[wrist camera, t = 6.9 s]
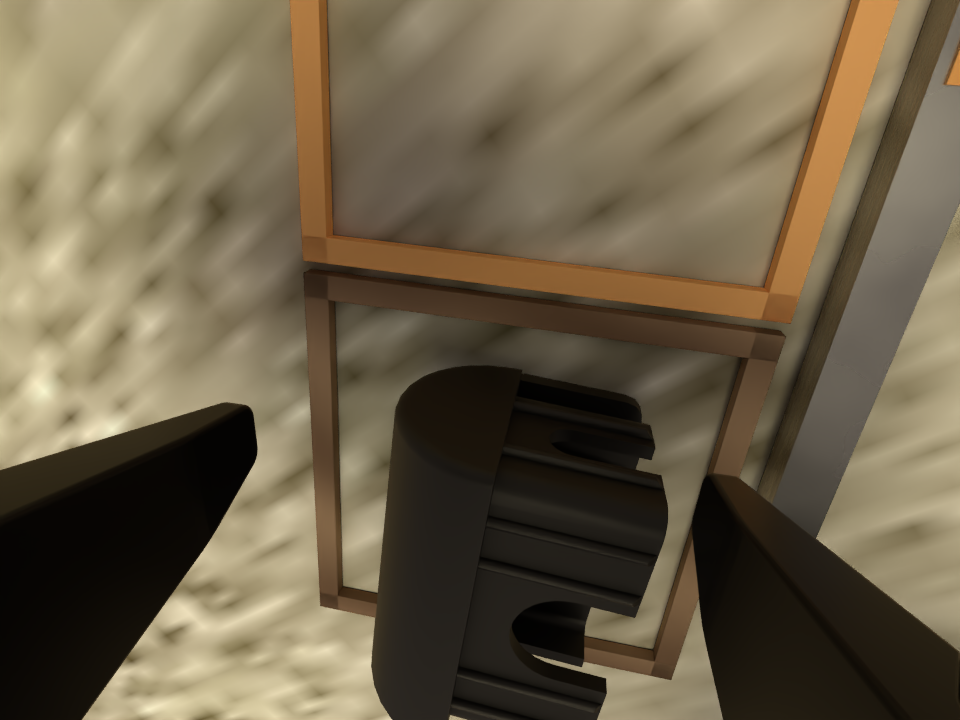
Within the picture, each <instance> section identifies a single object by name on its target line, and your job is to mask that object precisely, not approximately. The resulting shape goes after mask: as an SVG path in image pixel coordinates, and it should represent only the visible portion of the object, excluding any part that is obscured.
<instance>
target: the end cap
mask: <svg viewBox="0 0 960 720" xmlns="http://www.w3.org/2000/svg"><path fill="white" fill-rule="evenodd" d="M641 422H642V414H641V409H640V406H639V404H638V403H637V401H636V400H635V399H633V398H631V397H629V396H627V395H624V394H619V393H614V392H609V391H605V390H600V389H595V388H590V387H586V386H581V385H576V384H571V383H567V382H562V381H557V380H552V379H548V378H543V377H538V376H533V375H529V374H522V370H520V369H514V368H508V367H499V366H462V367H453V368H448V369H444V370H440V371H436V372H434V373H431V374H429V375H426V376H424V377H422V378H421V379H419V380H417V381H416V382H414V383H413V384H411V385H410V386H409V387H408V388H407V389H406V391H405V392H404V393H403V394H402V395H401V397H400V399H399V401H398V404H397V406H396V409H395V418H394V429H393V439H392V450H391V460H390V471H389V481H388V492H387V502H386V513H385V523H384V534H383V544H382V555H381V565H380V576H379V586H378V596H377V607H376V617H375V628H374V638H373V649H372V664H371V667H372V674H373V680H374V686H375V688H376V691H377V694H378V696H379V699H380V702H381V703H382V705H383V707H384V708H385V710H386V711H387V713H388V714H389V716H390V717H391V719H392V720H449V717H450V715H453V716H456V717H460V718H464V719H467V720H597V718H598V715H599V713H600V710H601V707H602V705H603V702H604V699H605V697H606V694H607V690H606V678H602V677H598V676H594V675H590V674H587V673H583V672H579V671H575V670H571V669H567V668H564V667H560V666H556V665H553V664H550V663H547V662H544V661H542V660H540V659H538V658H536V657H534V656H533V655H537V656H541V657H544V658H548V659H552V660H556V661H560V662H564V663H567V664H571V665H575V666H579V667H582V665H583V662H584V633H585V625H586V620H587V617H588V614H589V611H590V608H591V607H594V608H598V609H602V610H606V611H610V612H614V613H618V614H622V615H626V616H630V617H634V618H635V617H636V614H637V612H638V609H639V606H640V604H641V601H642V598H643V596H644V593H645V590H646V588H647V585H648V582H649V580H650V577H651V574H652V572H653V569H654V566H655V564H656V561H657V558H658V556H659V553H660V550H661V548H662V545H663V542H664V539H665V535H666V530H667V523H668V505H667V500H666V495H665V490H664V486H663V481H662V476H661V475H657V474H652V473H648V472H643V471H639V470H635V469H636V466H637V463H638V460H639V458H644V459H648V460H652V457H653V454H654V451H655V444H654V439H653V435H652V430H651V426H650V425H648V424H644V423H641ZM531 654H533V655H531Z"/></svg>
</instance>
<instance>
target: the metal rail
mask: <svg viewBox="0 0 960 720" xmlns="http://www.w3.org/2000/svg"><path fill="white" fill-rule="evenodd" d="M959 203H960V0H932V2H931V5H930V7H929V10H928V13H927V16H926V19H925V21H924V24H923V27H922V30H921V33H920V35H919V38H918V41H917V44H916V47H915V49H914V52H913V55H912V58H911V61H910V64H909V66H908V69H907V72H906V75H905V78H904V80H903V83H902V86H901V89H900V92H899V94H898V97H897V100H896V103H895V106H894V108H893V111H892V114H891V117H890V120H889V123H888V125H887V128H886V131H885V134H884V137H883V139H882V142H881V145H880V148H879V151H878V153H877V156H876V159H875V162H874V165H873V167H872V170H871V173H870V176H869V179H868V182H867V184H866V187H865V190H864V193H863V196H862V198H861V201H860V204H859V207H858V210H857V212H856V215H855V218H854V221H853V224H852V227H851V229H850V232H849V235H848V238H847V241H846V243H845V246H844V249H843V252H842V255H841V257H840V260H839V263H838V266H837V269H836V271H835V274H834V277H833V280H832V283H831V286H830V288H829V291H828V294H827V297H826V300H825V302H824V305H823V308H822V311H821V314H820V316H819V319H818V322H817V325H816V328H815V330H814V333H813V336H812V339H811V342H810V345H809V347H808V350H807V353H806V356H805V359H804V361H803V364H802V367H801V370H800V373H799V375H798V378H797V381H796V384H795V387H794V389H793V392H792V395H791V398H790V401H789V404H788V406H787V409H786V412H785V415H784V418H783V420H782V423H781V426H780V429H779V432H778V434H777V437H776V440H775V443H774V446H773V448H772V451H771V454H770V457H769V460H768V463H767V465H766V468H765V471H764V474H763V477H762V479H761V482H760V485H759V488H758V491H757V493H758V494H760V495H761V496H762V497H764V498H765V499H766V500H767V501H769V502H770V503H771V504H772V505H774V506H775V507H776V508H777V509H779V510H780V511H781V512H783V513H784V514H785V515H786V516H788V517H789V518H790V519H791V520H793V521H794V522H795V523H797V524H798V525H799V526H800V527H802V528H803V529H804V530H805V531H807V532H808V533H809V534H810V535H812V536H813V537H814V538H816V537H817V535H818V533H819V530H820V528H821V526H822V523H823V521H824V519H825V516H826V514H827V511H828V509H829V507H830V504H831V502H832V500H833V497H834V495H835V493H836V490H837V488H838V486H839V483H840V481H841V479H842V476H843V474H844V472H845V469H846V467H847V465H848V462H849V460H850V458H851V455H852V453H853V451H854V448H855V446H856V444H857V441H858V439H859V437H860V434H861V432H862V430H863V427H864V425H865V423H866V420H867V418H868V416H869V413H870V411H871V409H872V406H873V404H874V402H875V399H876V397H877V395H878V392H879V390H880V388H881V385H882V383H883V381H884V378H885V376H886V374H887V371H888V369H889V367H890V364H891V362H892V360H893V357H894V355H895V353H896V350H897V348H898V346H899V343H900V341H901V339H902V336H903V334H904V332H905V329H906V327H907V325H908V322H909V320H910V318H911V315H912V313H913V311H914V308H915V306H916V304H917V301H918V299H919V297H920V294H921V292H922V290H923V287H924V285H925V283H926V280H927V278H928V276H929V273H930V271H931V269H932V266H933V264H934V262H935V259H936V257H937V255H938V252H939V250H940V248H941V245H942V243H943V241H944V238H945V236H946V234H947V231H948V229H949V227H950V224H951V222H952V220H953V217H954V215H955V213H956V210H957V208H958V206H959Z"/></svg>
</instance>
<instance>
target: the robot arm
mask: <svg viewBox="0 0 960 720" xmlns="http://www.w3.org/2000/svg"><path fill="white" fill-rule="evenodd" d="M256 457H257V439H256V431H255V423H254V415H253V412H252V410H251V408H250V407H249V406H247V405H242V404H235V403H228V402H226V403H220V404H217V405H214V406H210V407H207V408H204V409H201V410H197V411H194V412H191V413H187V414H184V415H181V416H177V417H174V418H171V419H168V420H164V421H161V422H158V423H154V424H151V425H148V426H144V427H141V428H138V429H135V430H131V431H128V432H125V433H121V434H118V435H115V436H111V437H108V438H105V439H102V440H98V441H95V442H92V443H88V444H85V445H82V446H78V447H75V448H72V449H69V450H65V451H62V452H59V453H55V454H52V455H49V456H45V457H42V458H39V459H36V460H32V461H29V462H26V463H22V464H19V465H16V466H12V467H9V468H6V469H3V470H0V720H82V719H83V718H84V716H85V715H86V713H87V712H88V711H89V709H90V708H91V706H92V705H93V704H94V702H95V701H96V699H97V698H98V697H99V695H100V694H101V692H102V691H103V690H104V688H105V687H106V685H107V684H108V683H109V681H110V680H111V678H112V677H113V676H114V674H115V673H116V671H117V670H118V669H119V667H120V666H121V664H122V663H123V662H124V660H125V659H126V657H127V656H128V655H129V653H130V652H131V650H132V649H133V648H134V646H135V645H136V643H137V642H138V641H139V639H140V638H141V636H142V635H143V634H144V632H145V631H146V630H147V628H148V627H149V625H150V624H151V623H152V621H153V620H154V618H155V617H156V616H157V614H158V613H159V611H160V610H161V609H162V607H163V606H164V604H165V603H166V602H167V600H168V599H169V597H170V596H171V595H172V593H173V592H174V590H175V589H176V588H177V586H178V585H179V583H180V582H181V581H182V579H183V578H184V576H185V575H186V574H187V572H188V571H189V569H190V568H191V567H192V565H193V564H194V562H195V561H196V560H197V558H198V557H199V555H200V554H201V553H202V551H203V550H204V548H205V547H206V545H207V544H208V542H209V541H210V539H211V538H212V536H213V534H214V533H215V531H216V530H217V528H218V526H219V524H220V523H221V521H222V519H223V517H224V516H225V514H226V512H227V510H228V509H229V507H230V505H231V503H232V502H233V500H234V498H235V496H236V495H237V493H238V491H239V489H240V488H241V486H242V484H243V482H244V481H245V479H246V477H247V475H248V474H249V472H250V470H251V468H252V466H253V465H254V463H255V460H256ZM692 538H693V547H694V556H695V566H696V575H697V584H698V593H699V603H700V612H701V619H702V627H703V632H704V637H705V642H706V647H707V651H708V656H709V660H710V664H711V669H712V673H713V677H714V682H715V686H716V690H717V695H718V699H719V703H720V708H721V712H722V716H723V720H960V652H959V651H958V650H956V649H955V648H954V647H953V646H951V645H950V644H949V643H948V642H946V641H945V640H944V639H942V638H941V637H940V636H939V635H937V634H936V633H935V632H934V631H932V630H931V629H930V628H929V627H927V626H926V625H925V624H923V623H922V622H921V621H920V620H918V619H917V618H916V617H915V616H913V615H912V614H911V613H909V612H908V611H907V610H906V609H904V608H903V607H902V606H901V605H899V604H898V603H897V602H896V601H894V600H893V599H892V598H890V597H889V596H888V595H887V594H885V593H884V592H883V591H882V590H880V589H879V588H878V587H876V586H875V585H874V584H873V583H871V582H870V581H869V580H868V579H866V578H865V577H864V576H863V575H861V574H860V573H859V572H857V571H856V570H855V569H854V568H852V567H851V566H850V565H849V564H847V563H846V562H845V561H843V560H842V559H841V558H840V557H838V556H837V555H836V554H835V553H833V552H832V551H831V550H830V549H828V548H827V547H826V546H824V545H823V544H822V543H821V542H819V541H818V540H817V539H816V538H814V537H813V536H812V535H810V534H809V533H808V532H807V531H805V530H804V529H803V528H802V527H800V526H799V525H798V524H797V523H795V522H794V521H793V520H791V519H790V518H789V517H788V516H786V515H785V514H784V513H783V512H781V511H780V510H779V509H777V508H776V507H775V506H774V505H772V504H771V503H770V502H769V501H767V500H766V499H765V498H764V497H762V496H761V495H760V494H758V493H757V492H756V491H755V490H753V489H752V488H751V487H750V486H748V485H747V484H746V483H744V482H743V481H742V480H741V479H739V478H738V477H736V476H731V475H724V474H717V473H709V474H707V475H706V477H705V478H704V480H703V483H702V487H701V490H700V494H699V497H698V501H697V504H696V508H695V511H694V515H693V520H692Z"/></svg>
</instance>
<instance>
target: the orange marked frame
mask: <svg viewBox="0 0 960 720" xmlns="http://www.w3.org/2000/svg"><path fill="white" fill-rule="evenodd" d="M898 1H899V0H852V1H851V4H850V7H849V11H848V14H847V17H846V20H845V24H844V27H843V30H842V34H841V37H840V40H839V43H838V47H837V50H836V53H835V57H834V60H833V63H832V66H831V70H830V73H829V76H828V79H827V83H826V86H825V89H824V93H823V96H822V99H821V102H820V106H819V109H818V112H817V116H816V119H815V122H814V125H813V129H812V132H811V135H810V139H809V142H808V145H807V148H806V152H805V155H804V158H803V161H802V165H801V168H800V171H799V175H798V178H797V181H796V184H795V188H794V191H793V194H792V198H791V201H790V204H789V207H788V211H787V214H786V217H785V220H784V224H783V227H782V230H781V234H780V237H779V240H778V243H777V247H776V250H775V253H774V257H773V260H772V263H771V266H770V270H769V273H768V276H767V279H766V283H765V286H764V288H761V287H753V286H745V285H737V284H728V283H720V282H712V281H704V280H696V279H688V278H680V277H671V276H663V275H655V274H647V273H639V272H631V271H623V270H614V269H606V268H598V267H590V266H582V265H574V264H565V263H557V262H549V261H541V260H533V259H525V258H517V257H508V256H500V255H492V254H484V253H476V252H468V251H460V250H451V249H443V248H435V247H427V246H419V245H411V244H403V243H394V242H386V241H378V240H370V239H362V238H354V237H345V236H337V235H333V218H332V181H331V145H330V108H329V71H328V35H327V0H290V13H291V33H292V52H293V72H294V92H295V112H296V132H297V151H298V171H299V191H300V211H301V231H302V250H303V260H304V261H311V262H319V263H327V264H335V265H342V266H350V267H358V268H365V269H373V270H381V271H389V272H396V273H404V274H412V275H419V276H427V277H435V278H442V279H450V280H458V281H466V282H473V283H481V284H489V285H496V286H504V287H512V288H520V289H527V290H535V291H543V292H550V293H558V294H566V295H574V296H581V297H589V298H597V299H604V300H612V301H620V302H628V303H635V304H643V305H651V306H658V307H666V308H674V309H682V310H689V311H697V312H705V313H712V314H720V315H728V316H736V317H743V318H751V319H759V320H766V321H774V322H782V323H789V324H791V321H792V318H793V315H794V312H795V309H796V306H797V303H798V300H799V297H800V294H801V291H802V288H803V285H804V282H805V279H806V276H807V273H808V270H809V267H810V264H811V261H812V258H813V255H814V252H815V249H816V246H817V243H818V240H819V237H820V234H821V231H822V228H823V225H824V222H825V219H826V216H827V213H828V210H829V207H830V204H831V201H832V198H833V195H834V192H835V189H836V186H837V183H838V180H839V177H840V174H841V171H842V168H843V165H844V162H845V159H846V156H847V153H848V150H849V147H850V144H851V141H852V138H853V135H854V133H855V130H856V127H857V124H858V121H859V118H860V115H861V112H862V109H863V106H864V103H865V100H866V97H867V94H868V91H869V88H870V85H871V82H872V79H873V76H874V73H875V70H876V67H877V64H878V61H879V58H880V55H881V52H882V49H883V46H884V43H885V40H886V37H887V34H888V31H889V28H890V25H891V22H892V19H893V16H894V13H895V10H896V7H897V4H898Z"/></svg>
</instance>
